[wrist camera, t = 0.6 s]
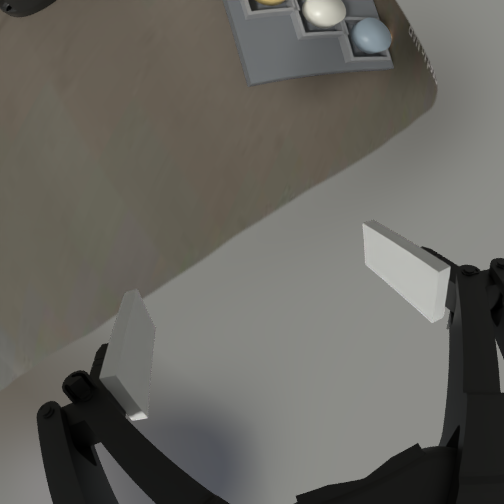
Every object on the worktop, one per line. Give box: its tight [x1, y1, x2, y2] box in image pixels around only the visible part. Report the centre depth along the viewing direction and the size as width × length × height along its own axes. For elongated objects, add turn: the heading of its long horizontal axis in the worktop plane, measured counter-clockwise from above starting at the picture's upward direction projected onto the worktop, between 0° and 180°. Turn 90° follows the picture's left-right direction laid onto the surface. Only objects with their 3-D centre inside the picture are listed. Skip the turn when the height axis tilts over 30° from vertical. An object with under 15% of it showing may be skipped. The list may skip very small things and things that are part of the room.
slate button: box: [351, 18, 391, 54], centre depth 29 cm, size 5×5×2 cm
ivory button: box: [302, 0, 346, 29], centre depth 27 cm, size 5×5×2 cm
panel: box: [223, 0, 394, 87], centre depth 31 cm, size 17×22×4 cm
